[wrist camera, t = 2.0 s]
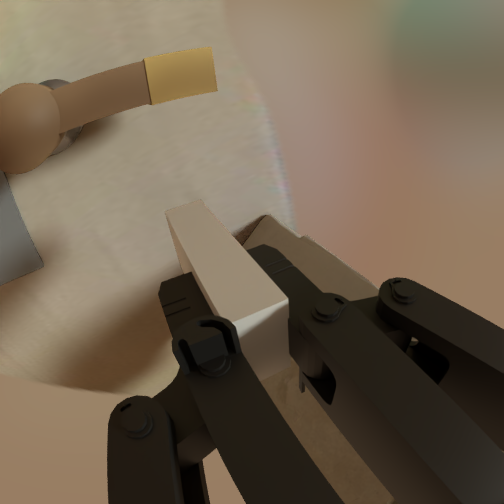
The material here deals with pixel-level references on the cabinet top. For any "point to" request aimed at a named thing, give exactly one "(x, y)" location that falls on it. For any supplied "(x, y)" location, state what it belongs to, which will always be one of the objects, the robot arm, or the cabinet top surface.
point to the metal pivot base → (69, 134)
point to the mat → (14, 239)
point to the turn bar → (93, 102)
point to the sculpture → (287, 381)
